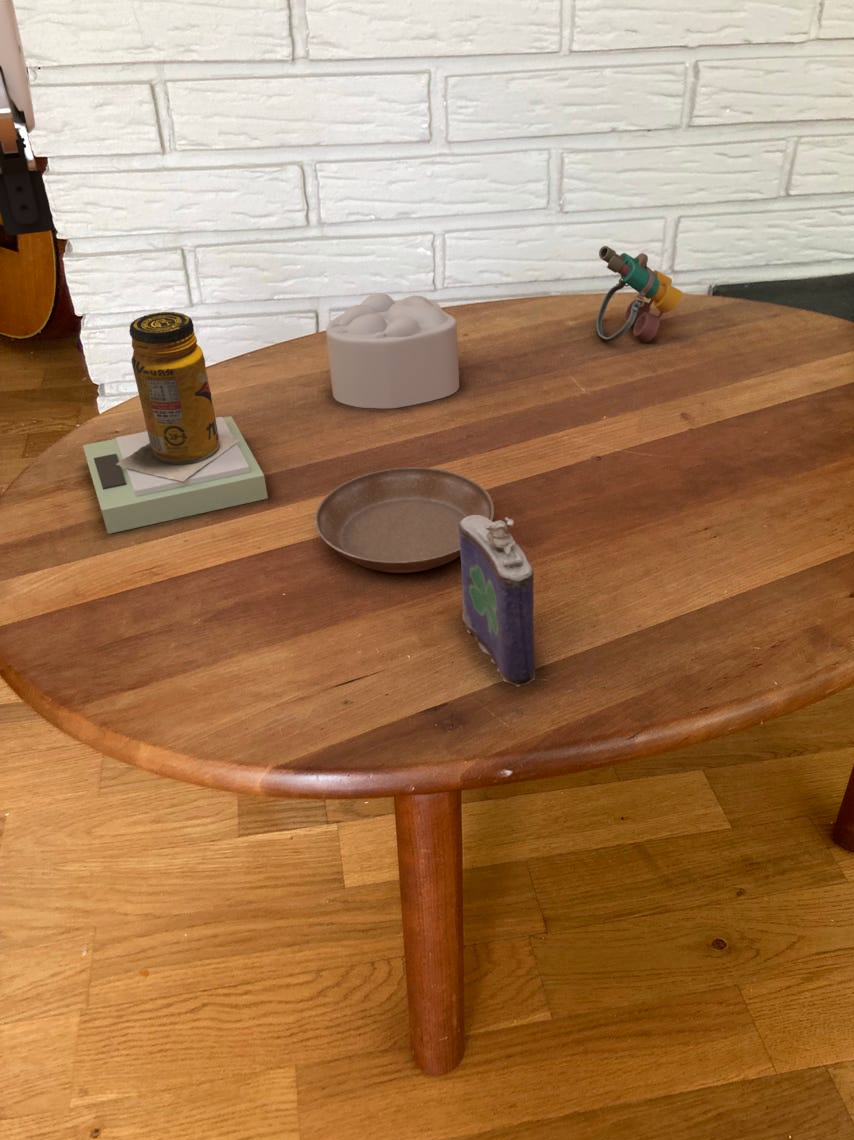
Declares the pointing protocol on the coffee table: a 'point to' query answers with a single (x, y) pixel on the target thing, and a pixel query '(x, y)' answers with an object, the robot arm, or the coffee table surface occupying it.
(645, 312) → the multicolored plastic assembly
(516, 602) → the flask
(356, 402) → the lumpy-topped squat cylinder
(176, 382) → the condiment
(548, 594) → the coffee table surface
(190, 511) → the scale
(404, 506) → the saucer
